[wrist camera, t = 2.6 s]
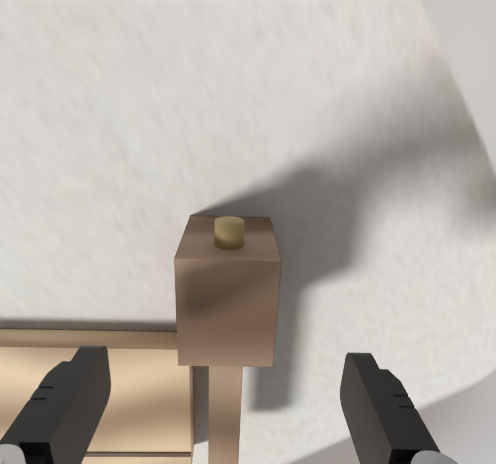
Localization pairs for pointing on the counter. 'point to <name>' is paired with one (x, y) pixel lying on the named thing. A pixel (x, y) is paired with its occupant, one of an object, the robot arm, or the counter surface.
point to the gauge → (226, 313)
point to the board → (122, 390)
